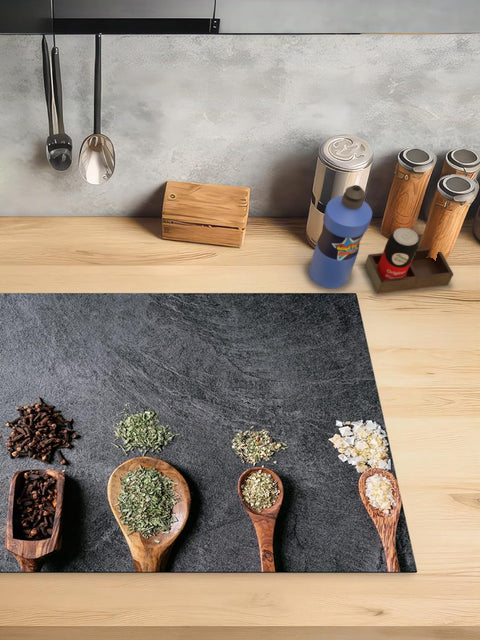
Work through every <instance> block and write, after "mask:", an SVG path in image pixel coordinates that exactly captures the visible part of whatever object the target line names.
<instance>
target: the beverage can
mask: <svg viewBox="0 0 480 640" xmlns="http://www.w3.org/2000/svg"><path fill="white" fill-rule="evenodd" d="M419 244H420V243H419V235H418V233H417V232H415V230H413V229H411V228H408V227H399V228H397V229H394V232H393V233H391V234H390V235H389V236H388V238H387V241H386V244H385V246H384V249H383V251H382V253H383V254H382V256H381V259H380V261H379V264H378V266H377V268H378V270H379V272H380V274H381V276H382V278H383V280H388V279H396V278H404V277H405V275H406V273H407V271H408V269H409V266H410V264H411V262H412V260H413V258H414V255H415V253H416V251H417V249H419Z"/></svg>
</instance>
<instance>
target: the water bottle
mask: <svg viewBox="0 0 480 640" xmlns="http://www.w3.org/2000/svg"><path fill="white" fill-rule="evenodd" d="M365 196H366V192H365V190H364V188H362V187H361V186H360V185H357V184H355V185H351V186H348V187H346V188H345V191H344V192H343V194H342V195H338V196H335V197H333V198H331V199H330V200H329V201H328V202H327V204H326V206H325V209H324V213H323V218H322V230H321V233H320V235H319V236H318V239H317V241H316V243H315V247H314V249H313V253H312V254H313V255H312V257H311V261H310V264H309V267H308V275H309V277H310V279H311V281H312V282H313V283H315V285H317V286H319V287H322V288H325V289H331V290H335V289H338V288H342V287H344V286H345V285H346V284H347V283H348V281H349V279H350V277H351V274H352V271H353V268H354V266H355V262H356V260H357V258H358V254H359V250H360V245H361V244H360V243H361V241H362V239H363V237H364V235H365V233H366V232H367V230H368V229H369V226H370V223H371V220H372V218H373V210H372V208H371V206H370V205H369V204H368V203H367V202H366V201H365Z"/></svg>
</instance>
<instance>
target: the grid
mask: <svg viewBox="0 0 480 640" xmlns="http://www.w3.org/2000/svg"><path fill="white" fill-rule="evenodd" d="M428 248H429V247H424V248H423V247H422V248H418V249H417V251H416V253H415V255H414V258H413V260H412V262H411V264H410V266H409V269H408V271H407V273H406V275H405V277H404V278H396V279H388V280H383V278H382V276H381V274H380V272H379V270H378V268H377V266H378V264H379V261H380V259H381V256H382V254H383V252H378V253H370V254H368V255H367V256H366V259H365V262H364V268H365V270H366V272H367V275H368V277H369V279H370V281H371V283H372V286H373V288H374V291H375V292H376V294H382V293H384V294H385V293H392V292H399V291H400V292H401V291H409V290H419V289H426V288H427V289H428V288H435V287H443V286H449V284H450V282H451V280H452V278H453V277H454V272H453V271H452V268H451V267H450V265H449V263H448V262H447V260H446V257H445V256H444V254H443V252H442V251H441V252H438V254H437V258H436V261H435V260H434V259H433V258H430V257H429V258H426V257H427V256H428V253H429V251H430V250H429V249H428Z"/></svg>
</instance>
